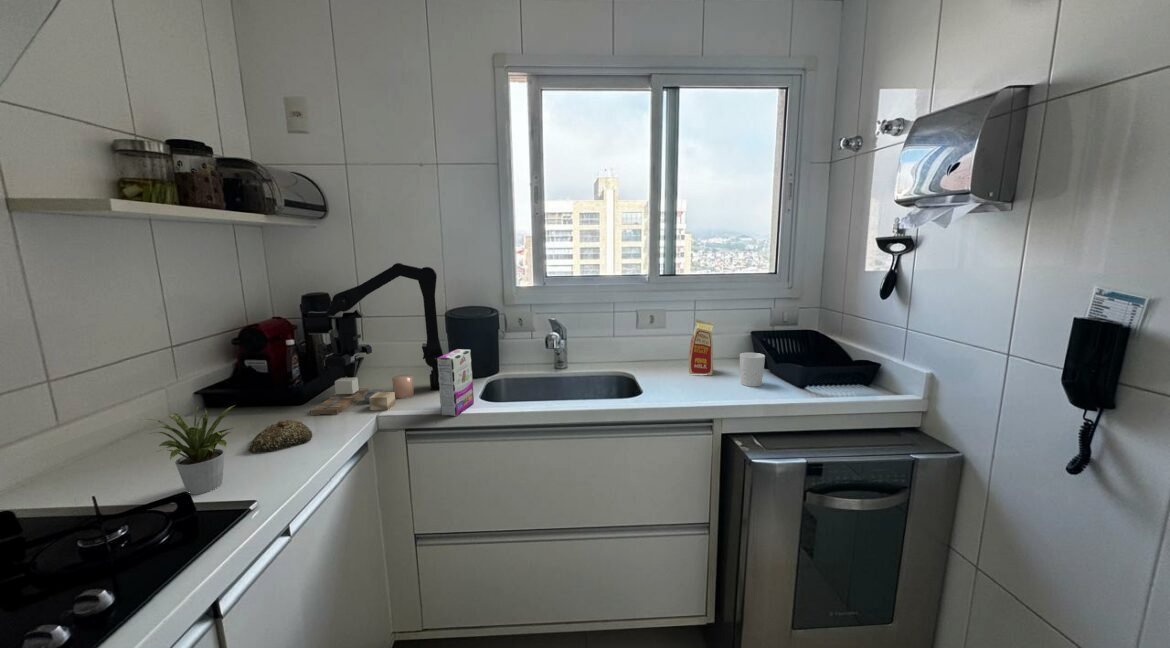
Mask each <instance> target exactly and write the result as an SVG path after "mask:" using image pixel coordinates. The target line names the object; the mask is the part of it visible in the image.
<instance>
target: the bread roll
mask: <svg viewBox="0 0 1170 648" xmlns="http://www.w3.org/2000/svg"><path fill="white" fill-rule="evenodd" d="M312 438H313V432H312V430H311V429H310V428H309V427H308V426H307V425H306V424H304V423H303V422H301V421H298V420H292V419H290V420H289V419H287V420H286V419H285V420H280V421H278V422H277V423H275V424H271V425H268V426H266V428H264V429H263V430H261V431H260V432H259V433H258V434H256V436H255V437H254V438H253V439H252V441H251V444H250V445H249V447H248V452H250V453H252V454H257V453H260V454H261V453H266V452H273V451H278V450H282V449H283V448H284V449H289V448H291V446H292V447H296V446H300V445H304V444H306V443H308V442H310V441H311V440H312Z"/></svg>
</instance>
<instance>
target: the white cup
mask: <svg viewBox="0 0 1170 648" xmlns="http://www.w3.org/2000/svg"><path fill="white" fill-rule="evenodd" d="M765 359H766V355H765V354H763V353H758V352H751V351H750V352H747V351H746V352H742V353H739V377H740V381H739V382H740V384H741V385H742V386H745V387H752V388H753V387H754V388H758V387H761V386H762V384H763V383H762V382H763V377H764V369H765V361H766V360H765ZM757 386H758V387H757Z"/></svg>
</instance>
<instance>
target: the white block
mask: <svg viewBox="0 0 1170 648" xmlns="http://www.w3.org/2000/svg"><path fill="white" fill-rule="evenodd" d="M334 387H335V388H334V389H335V390H334V391H335V395H336V394H353V393H355V392H356V391H358V390H359V388H360V387H359V378H358V376H356V377H352V378H347V377H340V378H338V379H336V380H335V381H334Z"/></svg>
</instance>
